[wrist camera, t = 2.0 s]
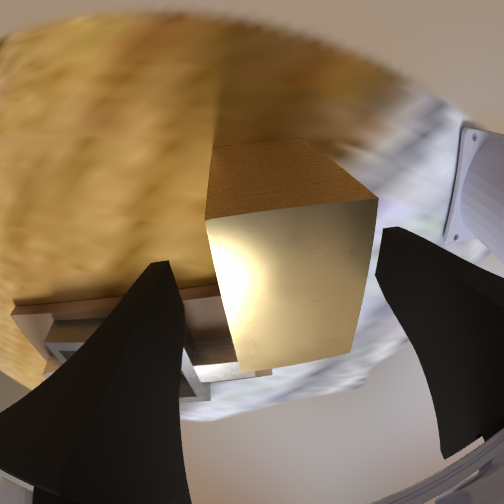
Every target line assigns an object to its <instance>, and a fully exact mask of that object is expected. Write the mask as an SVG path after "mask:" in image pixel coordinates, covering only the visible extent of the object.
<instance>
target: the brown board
mask: <svg viewBox="0 0 504 504" xmlns="http://www.w3.org/2000/svg"><path fill="white" fill-rule="evenodd" d="M178 290H179V293H180V295H181V298H182V301H183V304H184V306H185V337H184V347H183V357H182V368H181V378H180V390H179V402H198V401H211V395H210V383H211V382H221V381H231V380H239V379H247V378H254V377H261V376H268V375H272V369H266V370H260V371H253V372H245V373H241V371H240V367H239V363H238V359H237V356H236V352H235V348H234V344H233V340H232V336H231V332H230V328H229V324H228V320H227V316H226V312H225V308H224V304H223V300H222V296H221V292H220V287H219V284H215V285H208V286H201V287H193V288H186V289H178ZM123 297H124V296H120V297H111V298H102V299H92V300H83V301H72V302H62V303H51V304H40V305H28V306H15V308H14V310H13V311H12V313H11V315H10V316H11V317H12V319H13V320H14V321H15V323H16V324H17V325H18V327H19V328H20V329H21V331H22V332H23V333H24V335H25V336H26V337H27V339H28V340H29V341H30V342H31V344H32V345H33V346H34V347H35V348H36V350H37V351H38V352H39V353H40V354H41V356H42V357H43V358H44V359H45V360H46V361H47V364H46V366H45V369H44V372H43V376H45V377H46V378H48V377H49V376H51V375H52V374H53V373H54V372H55V371H56V370H57V369H58V368H59V367H60V366H61V365H62V364H64V363H65V362H66V361H67V360H68V359H69V358H70V357H71V356H72V355H73V354H74V353H75V352H76V351H77V350H78V349H79V348H80V347H81V346H82V345H83V344H84V343H85V342H86V341H87V340H88V339H89V337H90V336H91V335H92V334H93V333H94V332H95V331H96V330H97V328H98V327H99V326H100V325H101V324H102V322H103V321H104V320H105V319H106V318H107V316H108V315H109V314H110V313H111V312H112V310H113V309H114V308H115V307H116V306H117V304H118V303H119V302H120V301H121V299H122V298H123Z"/></svg>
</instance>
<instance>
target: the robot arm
mask: <svg viewBox="0 0 504 504" xmlns="http://www.w3.org/2000/svg"><path fill="white" fill-rule="evenodd" d="M472 137H473V138H472ZM476 238H477V239H478V240H479V241H480V242H481V243H483V244H484V245H485V246H486V247H487V248H488V249H489V250H490V251H491V252H492V253H493V254H494V255H495V256H496V257H497V258H498V259H500V261H502V263H503V264H504V135H503V134H499V133H494V132H490V131H485V130H480V129H475V128H469V127H465V128H464V129H463V130H462V134H461V144H460V153H459V161H458V169H457V175H456V182H455V187H454V193H453V198H452V203H451V208H450V212H449V217H448V221H447V225H446V229H445V233H444V238H443V239H444V241H445V242H446V243H447V244H452V243H457V242H462V241H467V240H471V239H476ZM375 276H376V279H377V281H378V283H379V286H380V288H381V290H382V292H383V295H384V297H385V299H386V301H387V302H388V304H389V306H390V307H391V309H392V311H393V312H394V314H395V316H396V317H397V319H398V321H399V323H400V324H401V326H402V328H403V329H404V331H405V333H406V335H407V336H408V338H409V340H410V342H411V343H412V345H413V347H414V349H415V351H416V353H417V355H418V358H419V361H420V363H421V366H422V368H423V371H424V374H425V377H426V379H427V383H428V386H429V389H430V393H431V396H432V400H433V404H434V408H435V413H436V417H437V423H438V429H439V437H440V449H441V453H442V455H443V458H444V459H447V458H448V457H450V456H452V455H454V454H455V453H457V452H459V451H460V450H462V449H463V448H465V447H466V446H468V445H470V444H471V443H472V442H474V441H475V440H477V439H478V438H480V437H481V436H483V439H484V441H485V442H484V443H483V444H481V445H480V446H479V447H477V448H476V449H474V450H473V451H471V452H470V453H469V454H467V455H465V456H464V457H462V458H461V459H459V460H458V461H456V462H454V463H453V464H451V465H450V466H448V467H446V468H444V469H443V470H441V471H439V472H437V473H436V474H434V475H432V476H430V477H428V478H426V479H424V480H423V481H421V482H419V483H416V484H414V485H412V486H410V487H408V488H406V489H404V490H401V491H399V492H397V493H395V494H392V495H390V496H387V497H385V498H382V499H380V500H377V501H374V502H372V503H369V504H423V503H425V502H427V501H429V500H431V499H432V498H435V497H436V496H438V495H440V494H442V493H443V492H445V491H446V492H445V493H443V494H442V495H441V496H440V497H438V498H437V499H436V500H435V504H504V278H502V277H500V276H498V275H495V274H493V273H491V272H489V271H486V270H484V269H482V268H480V267H478V266H476V265H474V264H472V263H470V262H468V261H466V260H464V259H462V258H460V257H458V256H456V255H455V254H453V253H451V252H449V251H447V250H445V249H443V248H441V247H440V246H438V245H436V244H434V243H432V242H430V241H428V240H426V239H424V238H422V237H421V236H419V235H416V234H414V233H412V232H410V231H408V230H406V229H403V228H400V227H390V228H383V233H382V239H381V245H380V251H379V257H378V262H377V267H376V272H375ZM184 337H185V306H184V304H183V301H182V298H181V295H180V293H179V290H178V287H177V284H176V281H175V278H174V275H173V272H172V269H171V266H170V263H169V260H167V261H161V262H154V263H151V264H150V265H149V266H148V267H147V268H146V269H145V270H144V272H143V273H142V274H141V275H140V277H139V278H138V279H137V280H136V282H135V283H134V284H133V285H132V287H131V288H130V289H129V290H128V292H127V293H126V294H125V296H124V297H123V298H122V299H121V301H120V302H119V303H118V304H117V306H116V307H115V308H114V309H113V310H112V312H111V313H110V314H109V315H108V316H107V318H106V319H105V320H104V321H103V322H102V324H101V325H100V326H99V327H98V328H97V330H96V331H95V332H94V333H93V334H92V335H91V336H90V337H89V339H88V340H87V341H86V342H85V343H84V344H83V345H82V346H81V347H80V348H79V349H78V350H77V351H76V352H75V353H74V354H73V355H72V356H71V357H70V358H69V359H68V360H67V361H66V362H65V363H64V364H62V365H61V366H60V367H59V368H58V369H57V370H56V371H55V372H54V373H53V374H52V375H51V376H49V377H48V378H47V379H46V380H45V381H43V382H42V383H41V384H40V385H39V386H37V387H36V388H35V389H34V390H32V391H31V392H30V393H28V394H27V395H26V396H25V397H23V398H22V399H20V400H19V401H18V402H16V403H15V404H13V405H11V406H10V407H9V408H7V409H6V410H4V411H2V412H1V413H0V469H1V470H3V471H4V472H6V473H8V474H10V475H12V476H14V477H16V478H18V479H20V480H22V481H24V482H26V483H28V484H30V485H33V486H34V491H31V490H28V489H26V488H24V487H22V486H20V485H18V484H16V483H14V482H12V481H10V480H8V479H6V478H4V477H2V478H1V482H0V504H192V503H191V498H190V494H189V489H188V484H187V479H186V472H185V466H184V459H183V451H182V441H181V430H180V413H179V390H180V378H181V368H182V357H183V347H184ZM478 469H479V472H478V474H477V475H475V476H473V477H471V478H469V479H467V480H465V481H463V482H461V481H462V480H464V479H466V478H467V477H468V476H470V475H471V474H473V473H474V472H475V471H477V470H478ZM459 482H461V483H459ZM458 483H459V484H458ZM456 484H457V485H456ZM453 486H454V487H453ZM448 489H449V490H448Z"/></svg>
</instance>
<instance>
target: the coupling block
mask: <svg viewBox="0 0 504 504" xmlns="http://www.w3.org/2000/svg"><path fill="white" fill-rule="evenodd" d="M377 208H378V197H377V196H375V195H374V194H373V193H372V192H371V191H370V190H368V189H367V188H366V187H365V186H364V185H362V184H361V183H360V182H359V181H357V180H356V179H355V178H354V177H352V176H351V175H350V174H349V173H347V172H346V171H345V170H344V169H342V168H341V167H340V166H338V165H337V164H336V163H335V162H333V161H332V160H331V159H329V158H328V157H327V156H325V155H324V154H322V153H321V152H320V151H318V150H317V149H316V148H314V147H313V146H311V145H310V144H309V143H307V142H306V141H304V140H303V139H301V138H300V139H287V140H276V141H266V142H257V143H248V144H241V145H233V146H226V147H219V148H213V149H212V154H211V162H210V171H209V180H208V189H207V199H206V210H205V225H206V229H207V234H208V239H209V243H210V248H211V252H212V257H213V261H214V266H215V270H216V275H217V279H218V283H219V287H220V292H221V296H222V300H223V304H224V308H225V312H226V316H227V320H228V324H229V328H230V332H231V336H232V340H233V344H234V348H235V352H236V356H237V359H238V363H239V367H240V371H241V373H245V372H253V371H260V370H266V369H272V368H278V367H284V366H290V365H295V364H300V363H306V362H310V361H315V360H320V359H324V358H329V357H333V356H338V355H342V354H346V353H350V350H351V346H352V342H353V339H354V335H355V331H356V327H357V323H358V318H359V314H360V310H361V305H362V301H363V296H364V291H365V286H366V281H367V276H368V270H369V264H370V259H371V252H372V246H373V239H374V232H375V225H376V217H377Z"/></svg>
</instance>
